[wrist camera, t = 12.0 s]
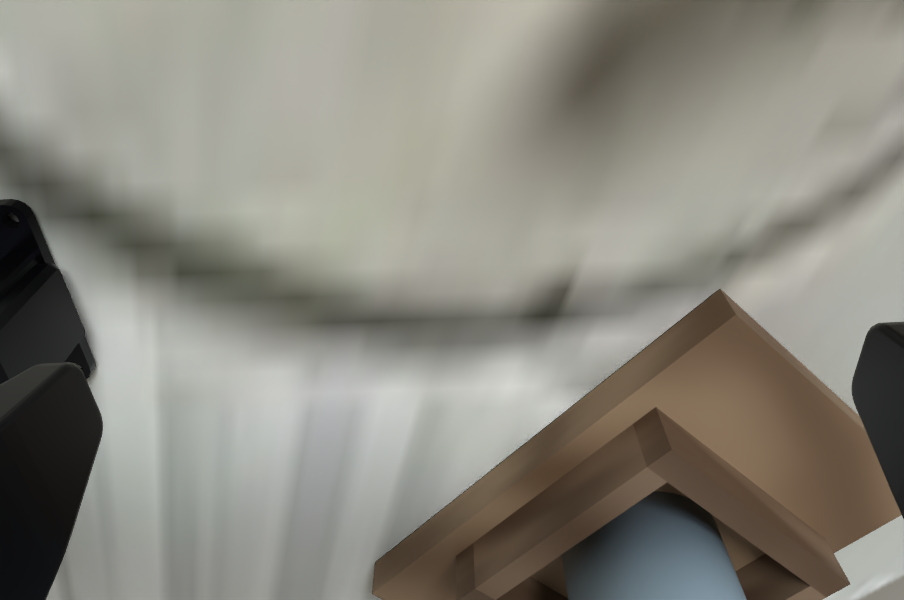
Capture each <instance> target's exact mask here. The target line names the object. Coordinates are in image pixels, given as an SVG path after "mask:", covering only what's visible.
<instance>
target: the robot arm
mask: <svg viewBox="0 0 904 600" xmlns="http://www.w3.org/2000/svg"><path fill="white" fill-rule="evenodd" d="M9 213H12V214H14V215H15V216H17V218H18V219H19V222H16V221H14V220H12V219H11V217H10V216H9ZM84 334H85V330H84V328H83V325H82V323H81V321H80V318H79V316H78V313H77V311H76V308H75V306H74V304H73V301H72V299H71V296H70V294H69V291H68V289H67V287H66V284H65V282H64V279H63V277H62V274H61V272H60V270H59V269H58V268H57V267H56V266H55V263H54V261H53V258H52V256H51V254H50V251H49V249H48V246H47V244H46V242H45V239H44V237H43V234H42V232H41V230H40V227H39V225H38V222H37V220H36V217H35V215H34V213H33V211H32V210H31V208H30V207H29V206H27V205H26V204H25V203H23V202H21V201H19V200H13V199H6V200H0V600H46V597H47V595H48V593H49V590H50V588H51V586H52V584H53V581H54V579H55V577H56V574H57V572H58V569H59V567H60V564H61V562H62V559H63V557H64V554H65V552H66V549H67V546H68V543H69V540H70V537H71V534H72V531H73V528H74V525H75V521H76V518H77V515H78V512H79V509H80V505H81V502H82V499H83V496H84V492H85V489H86V486H87V483H88V480H89V476H90V473H91V470H92V467H93V463H94V460H95V457H96V454H97V451H98V447H99V444H100V441H101V437H102V431H103V422H102V417H101V413H100V411H99V409H98V406H97V404H96V402H95V399H94V397H93V395H92V392H91V390H90V387H89V385H88V383H87V380H86V379H87V378H89V377H90V375H91V374H92V372H93V371H94V369H95V367H96V364H95V360H94V358H93V355H92V353H91V350H90V348H89V345H88V343H87V341H86V338H85V336H84ZM74 363H75V364H74ZM76 364H78V365H80V366H81V367H82V368H79V367H78V366H77V365H76ZM852 396H853V400H854V403H855V406H856V409H857V411H858V413H859V416H860V418H861V420H862V423H863V425H864V428H865V430H866V432H867V435H868V437H869V439H870V442H871V444H872V447H873V449H874V451H875V454H876V456H877V458H878V461H879V463H880V466H881V468H882V470H883V473H884V475H885V477H886V480H887V482H888V485H889V487H890V489H891V492H892V494H893V496H894V499H895V501H896V503H897V505H898V508H899V510H900V512H901V514H902V516H903V518H904V322H889V323H878V324H876V325H874V326H872V327H871V328H870V330H869V331H868V333H867V335H866V338H865V341H864V344H863V348H862V351H861V354H860V357H859V361H858V364H857V367H856V370H855V373H854V377H853V381H852Z"/></svg>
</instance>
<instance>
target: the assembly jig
mask: <svg viewBox="0 0 904 600" xmlns="http://www.w3.org/2000/svg"><path fill="white" fill-rule="evenodd" d="M654 491H662V492H669V493H674V494H678V495H682V496H685V497H687V498H690V499H691V500H693V501H694V502H695V503H697V504H698V505H700V506H701V507H702V508H704V509H705V510H707V511H708V512H709V513H710V514H711V515H712V517H713V518H714V520H715V522H716V525H717V527H718V529H719V532H720V534H721V537H722V539H723V542H724V544H725V547H726V549H727V552H728V554H729V557H730V559H731V562H732V564H733V567H734V569H735V572H736V574H737V577H738V579H739V582H740V584H741V587H742V589H743V592H744V594H745V597H746V599H747V600H822V599H824V598H826V597H828V596H830V595H831V594H833V593H835V592H837V591H839V590H841V589H842V588H844V587H846V586H848V585H850V582H849V581H848V579H847V577H846V575H845V573H844V572H843V570H842V568H841V566H840V564H839V563H838V561H837V559H836V557H835V555H834V553H835V552H837V551H839V550H840V549H842V548H844V547H846V546H847V545H849V544H851V543H853V542H855V541H856V540H858V539H860V538H862V537H863V536H865V535H867V534H869V533H870V532H872V531H874V530H876V529H877V528H879V527H881V526H883V525H885V524H886V523H888V522H890V521H892V520H893V519H895V518H897V517H899V516H900V515H902V514H901V512H900V510H899V508H898V505H897V503H896V501H895V499H894V496H893V494H892V492H891V489H890V487H889V485H888V482H887V480H886V477H885V475H884V473H883V470H882V468H881V466H880V463H879V461H878V458H877V456H876V454H875V451H874V449H873V447H872V444H871V442H870V439H869V437H868V435H867V432H866V430H865V428H864V425H863V423H862V420H861V418H860V416H859V415H858V414H856V413H855V412H854V411H853V410H852V409H851V408H850V407H849V406H848V405H847V404H845V403H844V402H843V401H842V400H841V399H840V398H839V397H838V396H837V395H836V394H835V393H833V392H832V391H831V390H830V389H829V388H828V387H827V386H826V385H825V384H824V383H823V382H821V381H820V380H819V379H818V378H817V377H816V376H815V375H814V374H813V373H812V372H810V371H809V370H808V369H807V368H806V367H805V366H804V365H803V364H802V363H801V362H800V361H798V360H797V359H796V358H795V357H794V356H793V355H792V354H791V353H790V352H789V351H788V350H786V349H785V348H784V347H783V346H782V345H781V344H780V343H779V342H778V341H777V340H775V339H774V338H773V337H772V336H771V335H770V334H769V333H768V332H767V331H766V330H765V329H763V328H762V327H761V326H760V325H759V324H758V323H757V322H756V321H755V320H754V319H753V318H751V317H750V316H749V315H748V314H747V313H746V312H745V311H744V310H743V309H742V308H740V307H739V306H738V305H737V304H736V303H735V302H734V301H733V300H732V299H731V298H730V297H728V296H727V295H726V294H725V293H724V292H723V291H722V290H721V289H719V290H718V291H717V292H716V293H714V294H713V295H712V296H711V297H709V298H708V299H707V300H706V301H704V302H703V303H702V304H701V305H699V306H698V307H697V308H695V309H694V310H693V311H692V312H690V313H689V314H688V315H687V316H685V317H684V318H683V319H682V320H680V321H679V322H678V323H677V324H675V325H674V326H673V327H672V328H670V329H669V330H668V331H666V332H665V333H664V334H663V335H661V336H660V337H659V338H658V339H656V340H655V341H654V342H653V343H651V344H650V345H649V346H648V347H646V348H645V349H644V350H643V351H641V352H640V353H639V354H638V355H636V356H635V357H634V358H632V359H631V360H630V361H629V362H627V363H626V364H625V365H624V366H622V367H621V368H620V369H619V370H617V371H616V372H615V373H614V374H612V375H611V376H610V377H609V378H607V379H606V380H605V381H603V382H602V383H601V384H600V385H598V386H597V387H596V388H595V389H593V390H592V391H591V392H590V393H588V394H587V395H586V396H585V397H583V398H582V399H581V400H580V401H578V402H577V403H576V404H574V405H573V406H572V407H571V408H569V409H568V410H567V411H566V412H564V413H563V414H562V415H561V416H559V417H558V418H557V419H556V420H554V421H553V422H552V423H551V424H549V425H548V426H547V427H546V428H544V429H543V430H542V431H540V432H539V433H538V434H537V435H535V436H534V437H533V438H532V439H530V440H529V441H528V442H527V443H525V444H524V445H523V446H522V447H520V448H519V449H518V450H517V451H515V452H514V453H513V454H511V455H510V456H509V457H508V458H506V459H505V460H504V461H503V462H501V463H500V464H499V465H498V466H496V467H495V468H494V469H493V470H491V471H490V472H489V473H488V474H486V475H485V476H484V477H483V478H481V479H480V480H479V481H477V482H476V483H475V484H474V485H472V486H471V487H470V488H469V489H467V490H466V491H465V492H464V493H462V494H461V495H460V496H459V497H457V498H456V499H455V500H454V501H452V502H451V503H450V504H448V505H447V506H446V507H445V508H443V509H442V510H441V511H440V512H438V513H437V514H436V515H435V516H433V517H432V518H431V519H430V520H428V521H427V522H426V523H425V524H423V525H422V526H421V527H420V528H418V529H417V530H416V531H414V532H413V533H412V534H411V535H409V536H408V537H407V538H406V539H404V540H403V541H402V542H401V543H399V544H398V545H397V546H396V547H394V548H393V549H392V550H391V551H389V552H388V553H387V554H385V555H384V556H383V557H382V558H380V559H379V560H378V561H377V562H375V570H374V580H373V589H372V594H373V595H375V596H377V597H379V598H381V599H383V600H568V594H567V588H566V582H565V576H564V570H563V564H562V557H561V555H562V554H563V553H565V552H566V551H568V550H569V549H571V548H572V547H574V546H575V545H576V544H578V543H579V542H581V541H582V540H584V539H585V538H587V537H588V536H590V535H591V534H592V533H594V532H595V531H597V530H598V529H600V528H601V527H603V526H604V525H606V524H607V523H609V522H610V521H611V520H613V519H614V518H616V517H617V516H619V515H620V514H622V513H623V512H625V511H626V510H627V509H629V508H630V507H632V506H633V505H635V504H636V503H638V502H639V501H641V500H642V499H644V498H645V497H646V496H648V495H649V494H651V493H652V492H654Z"/></svg>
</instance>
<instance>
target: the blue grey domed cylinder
mask: <svg viewBox="0 0 904 600" xmlns="http://www.w3.org/2000/svg"><path fill="white" fill-rule="evenodd" d="M561 557H562V564H563V570H564V576H565V582H566V588H567V594H568V600H747V599H746V597H745V594H744V592H743V589H742V587H741V584H740V582H739V579H738V577H737V574H736V572H735V569H734V567H733V564H732V562H731V559H730V557H729V554H728V552H727V549H726V547H725V544H724V542H723V539H722V537H721V534H720V532H719V529H718V527H717V525H716V522H715V520H714V518H713V517H712V515H711V514H710V513H709V512H708V511H707V510H705V509H704V508H702V507H701V506H700V505H698V504H697V503H695V502H694V501H693V500H691V499H690V498H687V497H685V496H682V495H678V494H674V493H669V492H662V491H654V492H652V493H651V494H649V495H648V496H646V497H645V498H644V499H642V500H641V501H639V502H638V503H636V504H635V505H633V506H632V507H630V508H629V509H627V510H626V511H625V512H623V513H622V514H620V515H619V516H617V517H616V518H614V519H613V520H611V521H610V522H609V523H607V524H606V525H604V526H603V527H601V528H600V529H598V530H597V531H595V532H594V533H592V534H591V535H590V536H588V537H587V538H585V539H584V540H582V541H581V542H579V543H578V544H576V545H575V546H574V547H572V548H571V549H569V550H568V551H566V552H565V553H563V554H562V555H561Z"/></svg>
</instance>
